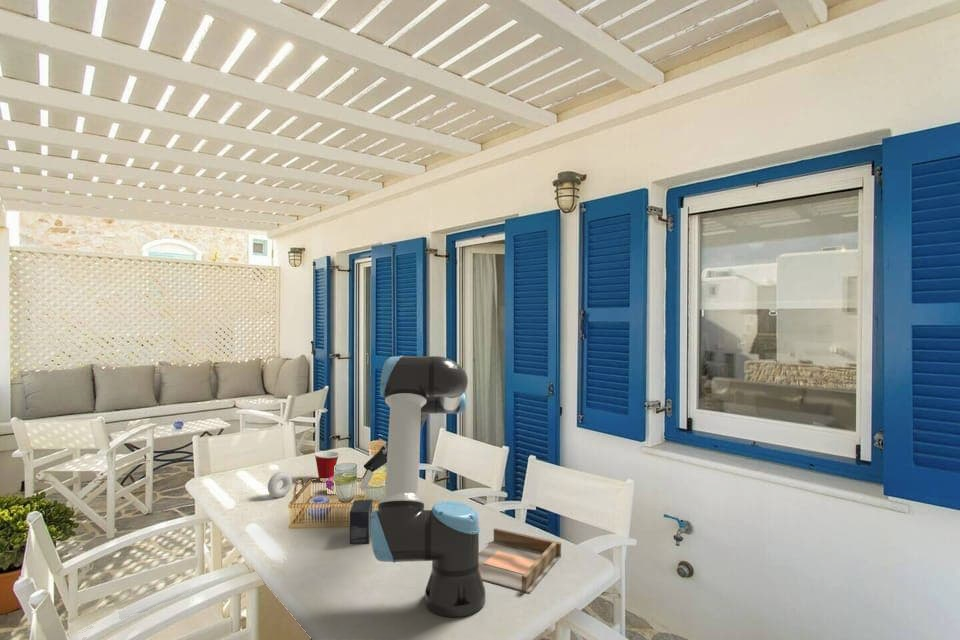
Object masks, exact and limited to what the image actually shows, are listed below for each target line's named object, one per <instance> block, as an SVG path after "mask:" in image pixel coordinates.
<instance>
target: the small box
mask: <svg viewBox="0 0 960 640" xmlns="http://www.w3.org/2000/svg"><path fill="white" fill-rule="evenodd" d="M372 512H373V499H360V500H359V499H358V500H357V499H356V500H354V501H353V503H352V506H351V508H350V510H349V545H369V544H370V543H371V540H372V538H371V514H372Z"/></svg>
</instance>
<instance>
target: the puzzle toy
mask: <svg viewBox="0 0 960 640" xmlns="http://www.w3.org/2000/svg"><path fill="white" fill-rule="evenodd" d="M334 477H335V476H334ZM334 477H330V478H329V479H328V480H327V481H326V482H325V484H326V487H325V488H328V489H330V490H332V491H333V490H334V483H333V482H332V481H331V479H333V478H334Z"/></svg>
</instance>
